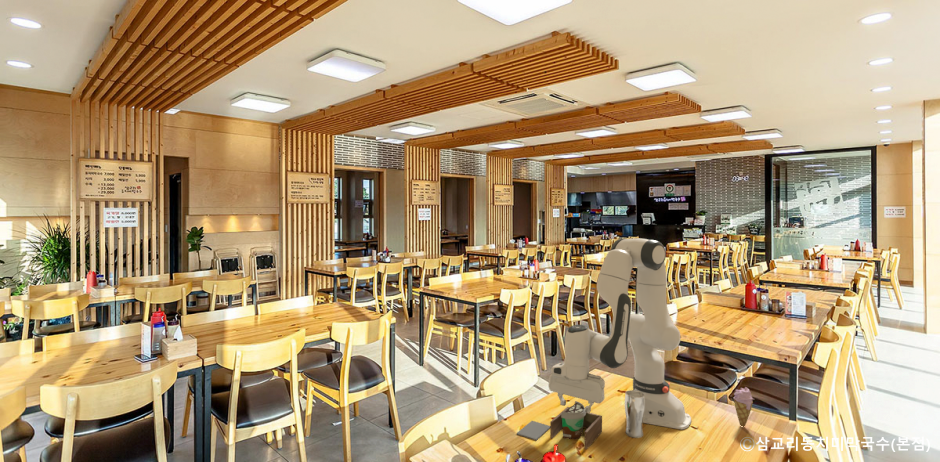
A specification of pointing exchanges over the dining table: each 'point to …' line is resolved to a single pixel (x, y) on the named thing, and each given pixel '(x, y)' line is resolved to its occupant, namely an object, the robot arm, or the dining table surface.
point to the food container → (573, 421)
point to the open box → (589, 422)
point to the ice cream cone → (743, 404)
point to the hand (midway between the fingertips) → (575, 408)
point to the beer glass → (634, 413)
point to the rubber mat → (533, 430)
